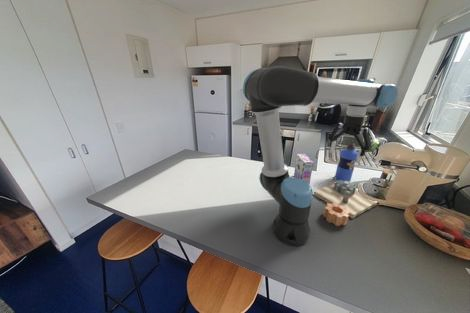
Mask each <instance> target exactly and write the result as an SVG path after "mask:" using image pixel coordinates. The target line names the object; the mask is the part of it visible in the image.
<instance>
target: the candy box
mask: <svg viewBox="0 0 470 313" xmlns="http://www.w3.org/2000/svg"><path fill="white" fill-rule="evenodd" d="M294 164H295V165H294V174H293V177H295V178H298V179H302V180H304V181H306V182H307V183H308V184H309V185H310V183H311V178H312V171H313V166H314V161H313V160H312V159H310V157H308V155H307V154H306V153H296V157H295V163H294Z"/></svg>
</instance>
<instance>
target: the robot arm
mask: <svg viewBox="0 0 470 313" xmlns="http://www.w3.org/2000/svg"><path fill="white" fill-rule="evenodd" d="M242 92H243V95H244V97H245V99H246V100H247V101H248V102H249V107H250V112H251V113H252V114H254V115H255V118H256V124H257V129H258V130H257V132H258V136H259V144H260V149H261V156H262V161H263V166H262V167H261V173H259V182H260V185H261V186H262V188H263V189H264V190H265V191H266V192H267V193H268V194H269V195H270V196H271V197H272V199H274V200H275V201H276V203H277V204H278V205H279V206H278V213H277V215H276V217H275V219H273V223H272V233H273V234H274V236H275V237H276V238H277V239H278V240H279V241H281V243H283V244H285V245H289V246H294V247H298V246H299V247H300V246H303V245H305V244H306V243H307V242H308V241H309V240H310V237H311V236H310V235H311V229H310V226H309V216H310V213H311V212H310V211H311V207H312V202H313V199H314V198H313V196H314V190H313V187H312V186H311V185H310V184H308V183H307V182H306V181H304V180H302V179H298V178H295V177H294V176H293V177H290V175H289V174H290V173H289V168H288V165H287V164H286V163H285V162H284V153H283V152H284V151H283V150H284V149H283V143H282V142H283V141H282V133H281V131H282V130H281V122H280V113H279V111H280V110H281V109H282V107H289V106H290V107H291V106H292V107H293V106H309V105H311V104H312V103H315V104H330V105H333V104H334V105H348V106H347V109H346V112H345V114H346V115H345V117H344V121H343V123H342V122H338V123H336V126H335V128H334V129H333V130H332V131H331V133H330V134H329V136H328V137H327V139H328V140H330V142H329V147H330V148H329V154H333V153H335V149H336V146H337V142H338V141H337V139H339V138H340V137H342V136H343V135H348V136H349V135H350V136H353V137H354V138H355V139H356V141H357V143H358V146H359V147H360V148H359V149H358V151H357V152H358V155H357V159H356V161H355V163H361V160H362V158H363V157H364V156H365V154H366V152H367V151H369V150H372V149H373V147H372V142H371V139H370V137H371V136H370V133H369V131H370V128H369V127H363V124H364V120H365V116H366V113H367V110H368V107H376V108H388V107H391V105H393V104H394V103H395V101H396V100H397V97H398V94H399V89H398V87H397V85H395V84H388V83H385V84H383V83H381V84H380V83H375V80H374V79H370V78H369V79H368V78H367V79H363V78H362V79H355V80H347V79H339V78H331V77H323V76H318V74H317V73H315V72H313V71H308V70H303V69H302V70H301V69H298V68H293V67H287V66H282V65H281V66H280V65H277V66H276V65H275V66H271V67H261V68H257V69H254V70H253V71H250V73H248V75H247V76H246V77H245V79H244V80H243V84H242ZM341 128H342V130H341V131H340V129H341ZM361 133H362V134H361ZM362 137H363V138H362Z"/></svg>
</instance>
